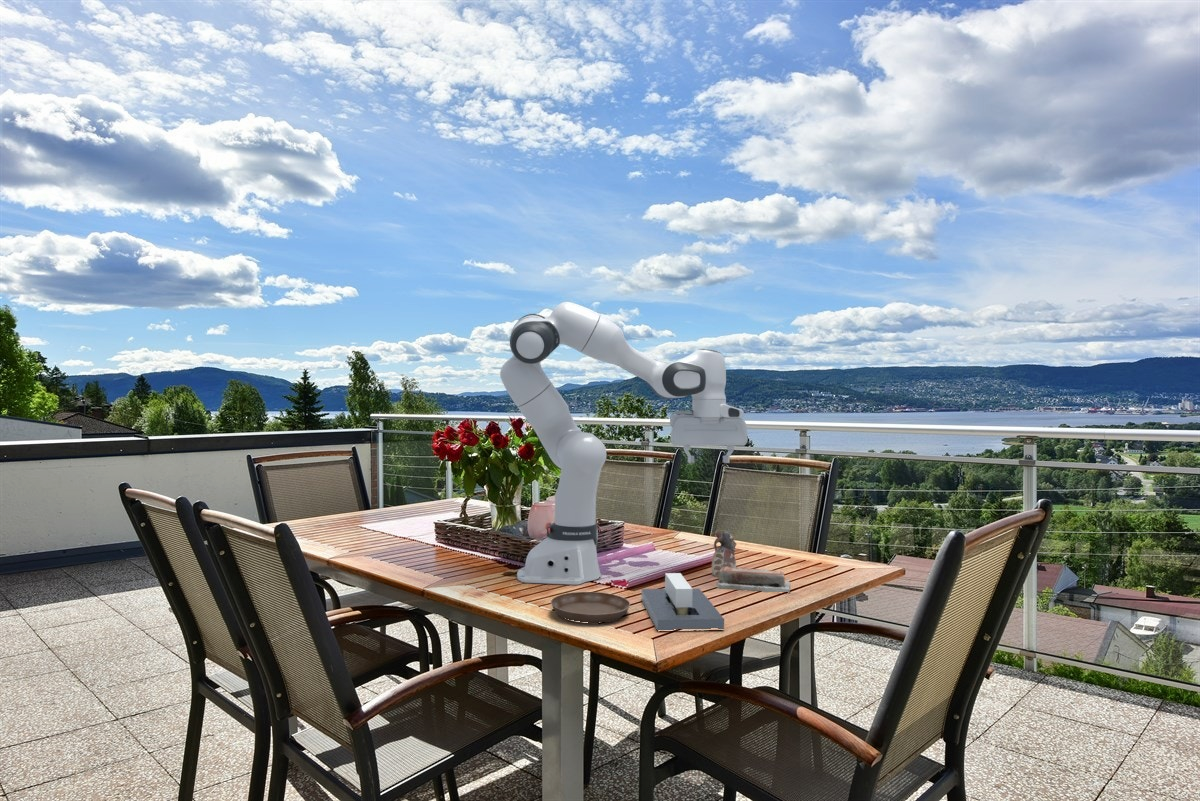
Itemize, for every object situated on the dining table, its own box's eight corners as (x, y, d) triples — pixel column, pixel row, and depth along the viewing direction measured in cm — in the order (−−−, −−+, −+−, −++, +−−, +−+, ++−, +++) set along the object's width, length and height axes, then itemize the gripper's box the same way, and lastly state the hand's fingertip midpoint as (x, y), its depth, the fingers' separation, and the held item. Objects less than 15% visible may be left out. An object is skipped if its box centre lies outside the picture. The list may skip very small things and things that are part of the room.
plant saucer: (629, 604, 172) (629, 591, 172) (630, 628, 154) (630, 614, 154) (554, 603, 173) (554, 590, 173) (546, 626, 155) (546, 612, 155)
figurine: (737, 579, 196) (738, 534, 196) (710, 577, 198) (711, 533, 198) (737, 572, 203) (738, 529, 203) (711, 571, 205) (712, 528, 205)
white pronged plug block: (692, 621, 159) (692, 588, 159) (675, 621, 159) (676, 589, 159) (679, 602, 173) (680, 573, 173) (664, 602, 173) (665, 573, 173)
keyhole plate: (723, 630, 153) (724, 618, 153) (657, 631, 152) (657, 619, 152) (699, 598, 177) (699, 588, 177) (641, 599, 176) (641, 589, 176)
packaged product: (716, 571, 187) (720, 562, 196) (716, 590, 187) (720, 580, 196) (790, 576, 182) (790, 567, 192) (789, 596, 182) (790, 586, 192)
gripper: (672, 410, 191) (671, 463, 191) (749, 411, 192) (749, 463, 192) (668, 410, 197) (667, 461, 197) (743, 410, 198) (742, 461, 198)
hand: (708, 462), depth 195 cm, fingers open, 8 cm apart
